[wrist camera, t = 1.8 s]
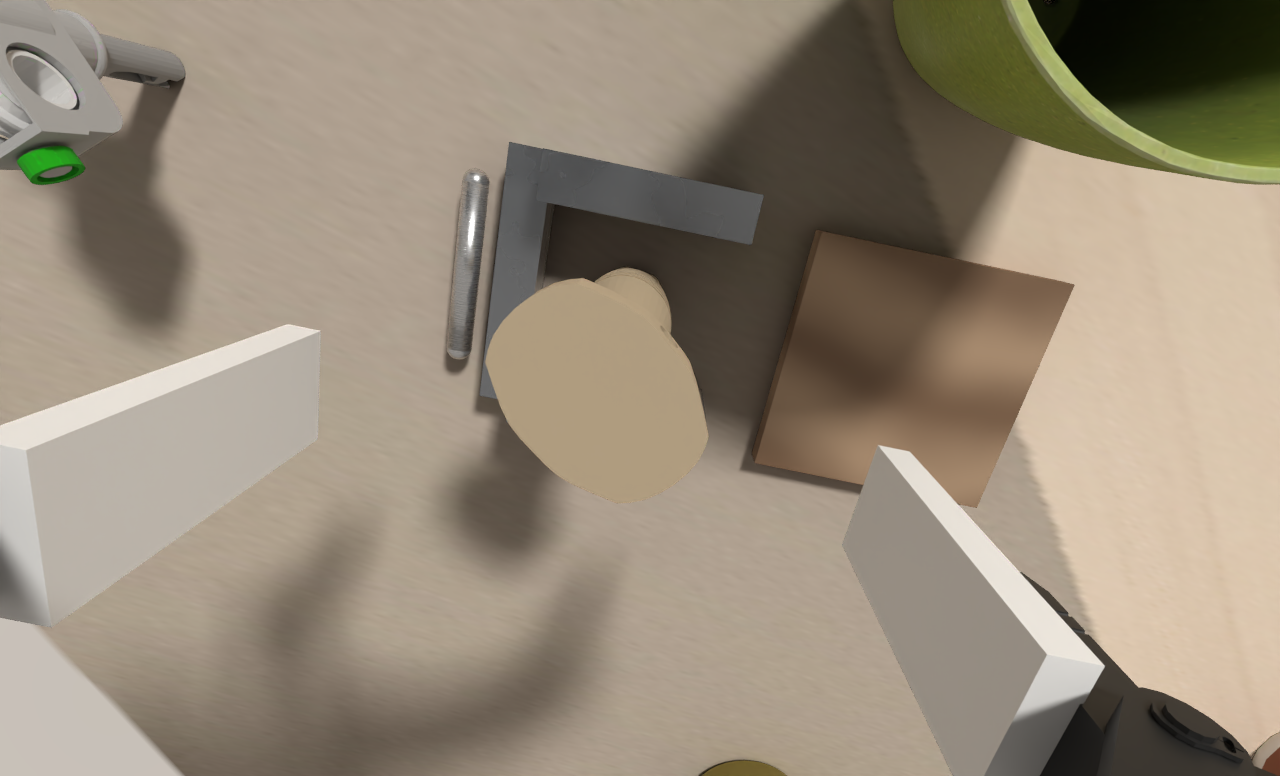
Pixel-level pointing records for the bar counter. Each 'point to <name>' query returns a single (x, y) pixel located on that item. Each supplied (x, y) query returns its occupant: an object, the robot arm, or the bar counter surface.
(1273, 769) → the coffee cup
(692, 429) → the handle
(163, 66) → the mechanical component
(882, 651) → the bar counter surface
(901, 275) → the walnut board
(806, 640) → the bar counter surface
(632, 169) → the vise
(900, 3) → the flower pot
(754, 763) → the olive glossy bulbous piece
